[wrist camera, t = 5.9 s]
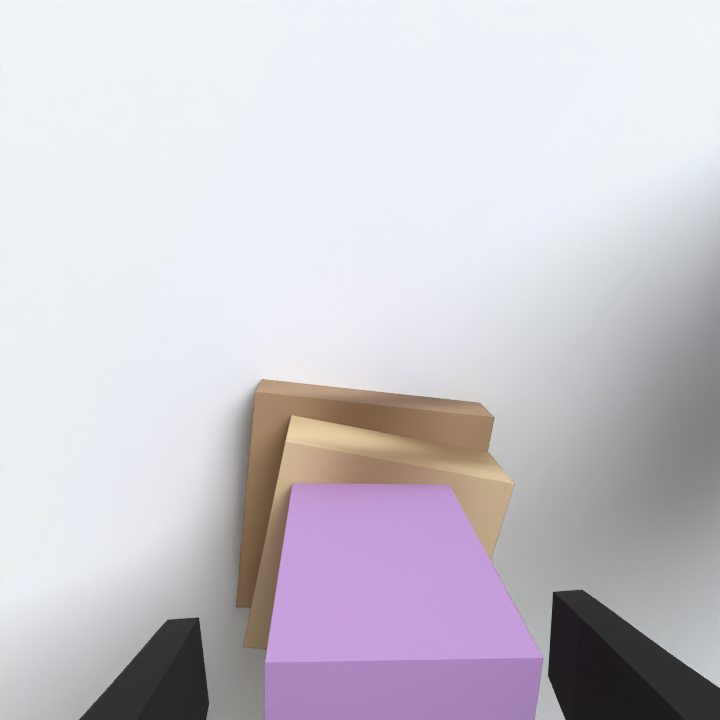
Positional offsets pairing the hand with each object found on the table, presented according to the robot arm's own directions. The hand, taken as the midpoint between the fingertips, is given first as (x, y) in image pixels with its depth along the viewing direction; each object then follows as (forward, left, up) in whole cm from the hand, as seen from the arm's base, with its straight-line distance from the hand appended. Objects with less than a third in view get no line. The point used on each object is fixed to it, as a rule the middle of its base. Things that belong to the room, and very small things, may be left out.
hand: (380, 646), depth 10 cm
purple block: (0, 0, -3) cm, 3 cm away
